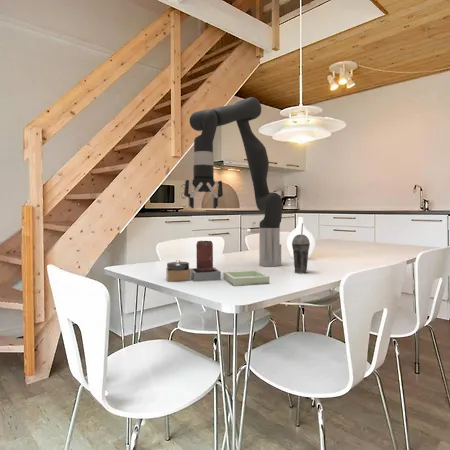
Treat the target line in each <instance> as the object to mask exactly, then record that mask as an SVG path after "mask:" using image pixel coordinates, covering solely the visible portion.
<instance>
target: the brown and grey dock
mask: <svg viewBox="0 0 450 450" xmlns="http://www.w3.org/2000/svg"><path fill="white" fill-rule="evenodd" d="M165 272H166V274H165V275H166V280H167V282H170V283H171V282H187V281H191V280H192V281H193V282H204V281H205V282H207V281H221V279H222V273H221V272H222V271H220V270H219V269H217V268H216V267H214V266H213V272H197V267H196V268H190V262H188V261H181V260H175V261H171V262H167V263H166V268H165Z"/></svg>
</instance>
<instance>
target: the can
mask: <svg viewBox="0 0 450 450" xmlns="http://www.w3.org/2000/svg"><path fill="white" fill-rule="evenodd" d="M195 246H196V268H197V272H213V267H214V254H213V253H214V247H213V246H214V244H213V241H211V240H198V241H197V242H196V245H195Z"/></svg>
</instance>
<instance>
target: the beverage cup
mask: <svg viewBox="0 0 450 450" xmlns="http://www.w3.org/2000/svg"><path fill="white" fill-rule="evenodd" d="M303 227H304V223H301V229H300V232H301V233H300V234H296V235H295V236H294V237H293V239H292V241H291V245H292V246H291V247H292V252H293V253H292V254H293V265H294V272H295V274H296V273H297V274H307V269H308V262H309V261H308V260H309V250H310V247H311V246H310V245H311V243H310V239H309V238H308V237H307V236H306V235H305V234H303V230H304V228H303Z"/></svg>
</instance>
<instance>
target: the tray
mask: <svg viewBox="0 0 450 450" xmlns="http://www.w3.org/2000/svg"><path fill="white" fill-rule="evenodd" d="M223 280H224V281H226V282H227V283H228V284H230V285H231V286H233V287H238V286H240V287H241V286H254V285H269V284H270V276H269V275H267V274H265V273H262V272H261V271H259V270H240V271H237V270H235V271H224V272H223Z"/></svg>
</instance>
